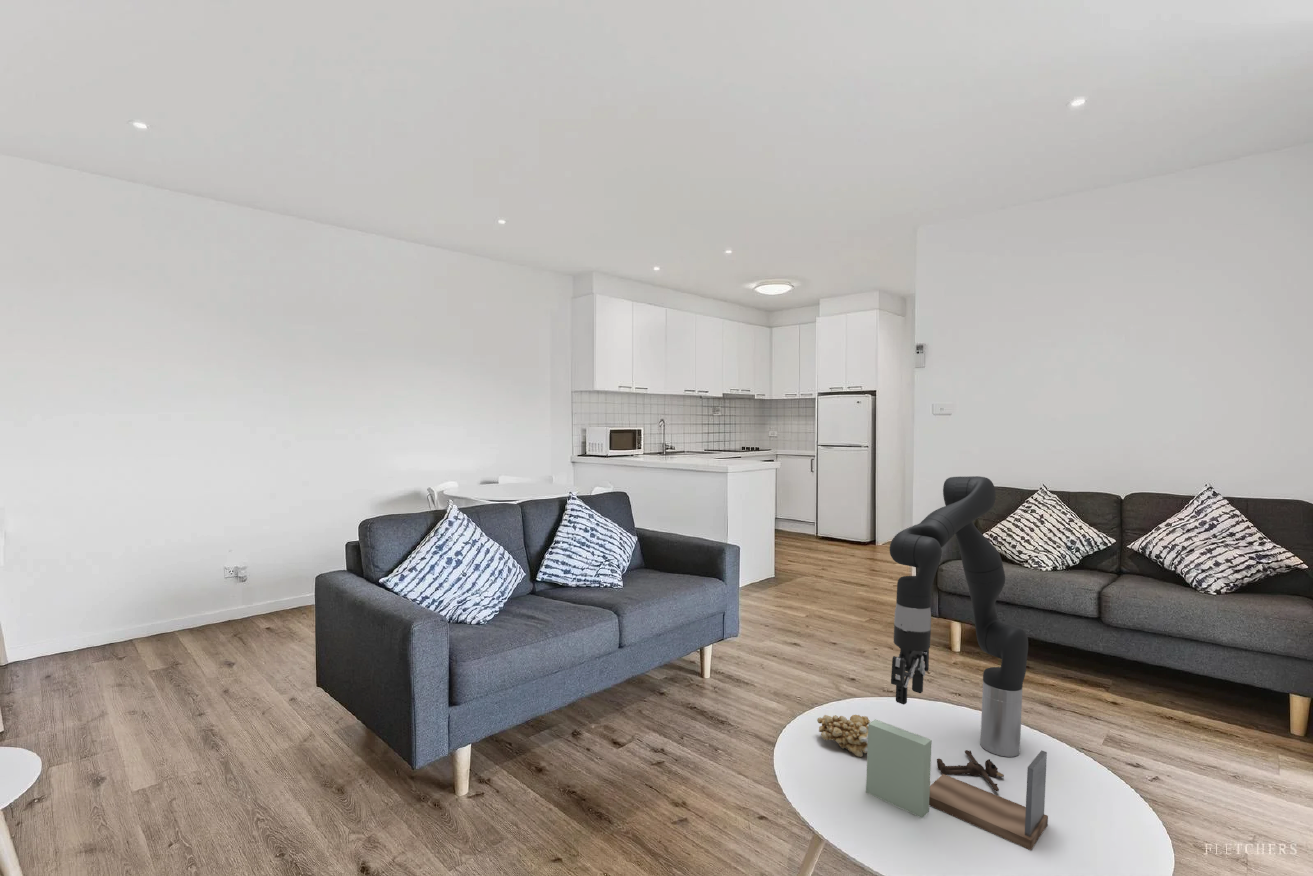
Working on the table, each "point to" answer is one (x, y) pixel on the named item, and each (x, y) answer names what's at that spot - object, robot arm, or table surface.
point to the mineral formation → (846, 732)
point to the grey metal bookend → (1035, 793)
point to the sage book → (899, 767)
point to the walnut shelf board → (984, 810)
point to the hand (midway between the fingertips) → (909, 697)
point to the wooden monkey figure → (972, 769)
